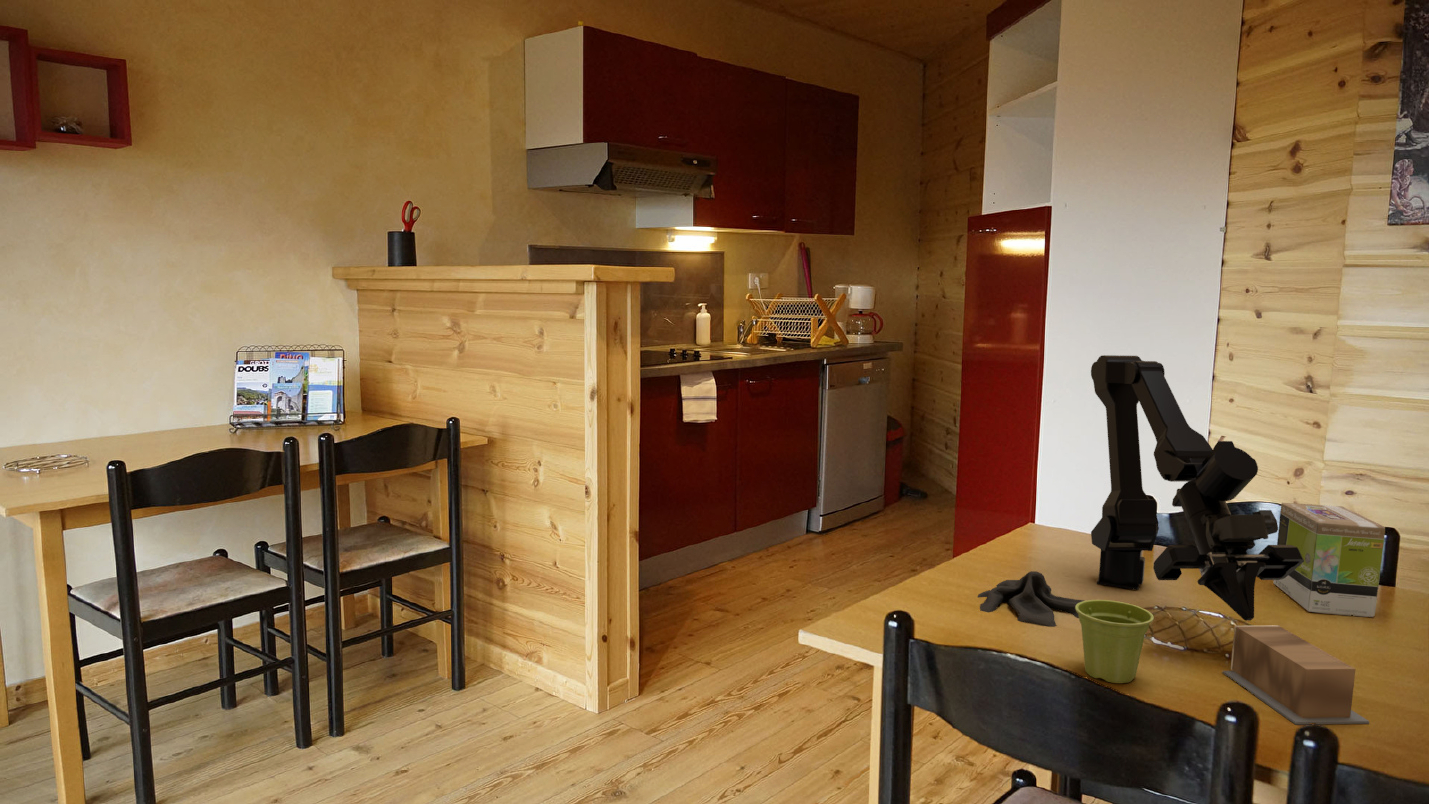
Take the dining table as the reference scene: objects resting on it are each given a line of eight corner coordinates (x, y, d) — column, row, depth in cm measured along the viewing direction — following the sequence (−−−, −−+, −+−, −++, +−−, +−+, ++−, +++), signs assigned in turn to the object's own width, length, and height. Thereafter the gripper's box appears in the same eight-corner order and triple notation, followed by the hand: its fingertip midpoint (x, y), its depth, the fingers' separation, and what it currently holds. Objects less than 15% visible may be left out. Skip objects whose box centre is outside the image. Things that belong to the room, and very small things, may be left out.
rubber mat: (1222, 673, 124) (1222, 670, 124) (1287, 672, 125) (1288, 670, 125) (1295, 724, 110) (1295, 722, 110) (1369, 723, 110) (1369, 721, 110)
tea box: (1378, 618, 146) (1388, 526, 144) (1306, 613, 148) (1315, 522, 146) (1335, 588, 160) (1343, 503, 158) (1270, 583, 162) (1278, 500, 160)
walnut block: (1234, 625, 124) (1306, 669, 110) (1278, 625, 124) (1355, 668, 111) (1230, 668, 125) (1301, 717, 111) (1274, 668, 125) (1350, 717, 111)
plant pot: (1059, 660, 128) (1063, 599, 126) (1125, 659, 128) (1129, 598, 127) (1092, 690, 118) (1096, 624, 117) (1163, 689, 119) (1168, 623, 118)
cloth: (1023, 580, 163) (1025, 546, 163) (1118, 613, 148) (1121, 575, 147) (931, 603, 152) (932, 566, 151) (1024, 641, 136) (1026, 600, 135)
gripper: (1170, 488, 128) (1210, 592, 119) (1301, 488, 129) (1351, 592, 120) (1137, 529, 137) (1172, 629, 128) (1260, 529, 138) (1304, 628, 129)
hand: (1249, 619), depth 126 cm, fingers closed
